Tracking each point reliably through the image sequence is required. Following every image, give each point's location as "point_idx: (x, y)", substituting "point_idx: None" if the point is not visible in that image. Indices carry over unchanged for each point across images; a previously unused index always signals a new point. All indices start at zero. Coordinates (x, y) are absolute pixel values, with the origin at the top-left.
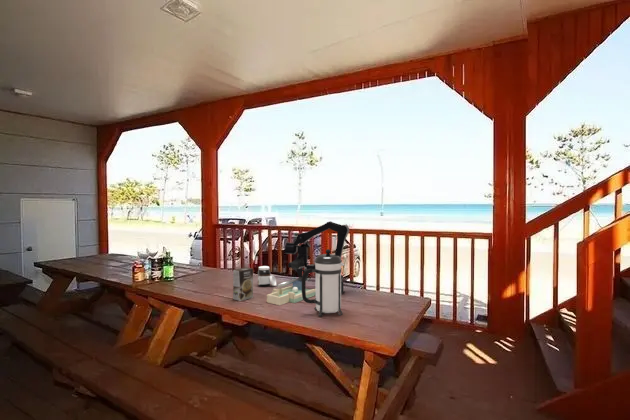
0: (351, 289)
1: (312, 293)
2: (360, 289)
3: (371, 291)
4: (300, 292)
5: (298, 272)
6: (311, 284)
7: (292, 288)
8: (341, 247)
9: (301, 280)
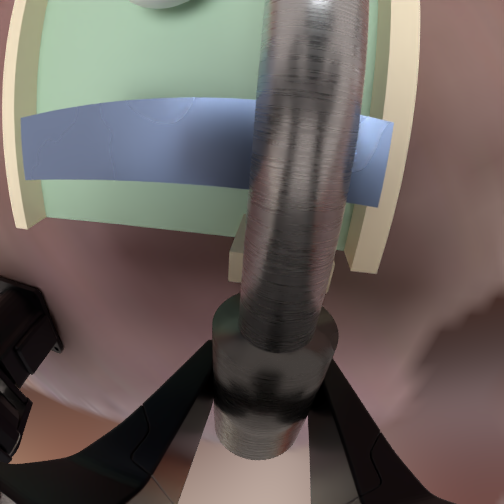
0: (50, 381)
1: None
2: (36, 385)
3: None
4: (121, 33)
5: (362, 487)
6: (307, 421)
7: None
8: None
9: (234, 305)
